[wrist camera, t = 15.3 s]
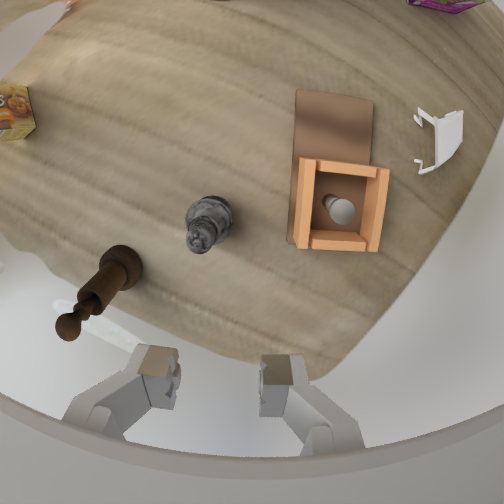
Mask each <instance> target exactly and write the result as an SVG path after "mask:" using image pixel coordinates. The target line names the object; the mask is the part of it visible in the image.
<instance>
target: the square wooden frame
mask: <svg viewBox="0 0 504 504" xmlns="http://www.w3.org/2000/svg"><path fill="white" fill-rule="evenodd" d="M315 169H317V170H319V171H324V172H334V173H343V174H351V175H359V176H367V185H366V193H365V201H364V208H363V216H362V222H361V229H360V235H358V234H357V233H356V232H342V231H326V230H310V222H311V213H312V202H313V192H314V180H315ZM389 173H390V170H389V169H385V168H381V167H377V166H370V165H363V164H356V163H349V162H341V161H332V160H323V159H311V158H302V157H300V159H299V174H298V187H297V200H296V211H295V223H294V234H293V238H294V241H295V243H296V246H297V248H300V249H308V242H309V244H310V245H311V247H312V249H322V250H344V251H365V248H366V249H367V250H368V251H369V252H377V251H378V246H379V241H380V235H381V229H382V224H383V218H384V211H385V204H386V197H387V190H388V182H389Z"/></svg>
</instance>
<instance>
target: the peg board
mask: <svg viewBox="0 0 504 504" xmlns="http://www.w3.org/2000/svg"><path fill="white" fill-rule="evenodd" d="M372 121H373V101H371V100H366V99H361V98H356V97H351V96H345V95H339V94H333V93H326V92H319V91H312V90H303V89H297V90H296V98H295V119H294V138H293V155H292V171H291V185H290V199H289V212H288V224H287V236H286V241H287V243H288V244H296V243H295V241H294V238H293V234H294V223H295V211H296V200H297V187H298V174H299V159H300V157H302V158H311V159H323V160H332V161H341V162H349V163H356V164H363V165H369V163H370V151H371V138H372ZM366 185H367V176H359V175H351V174H343V173H334V172H324V171H319V170H317V169H315V180H314V192H313V202H312V213H311V222H310V230H326V231H342V232H356V233H357V234H358V235H360V229H361V222H362V216H363V208H364V201H365V193H366ZM308 244H309V242H308ZM309 245H310V244H309Z"/></svg>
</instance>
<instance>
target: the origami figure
mask: <svg viewBox="0 0 504 504" xmlns="http://www.w3.org/2000/svg"><path fill="white" fill-rule="evenodd" d="M463 111H464V110H461V111H458V110H457V111H454V112H451V113H448V114H445V117H444V118H441V119H438V118H437V117H436V116H434V117H433V118H432V117H431V116H430V115H428V114H427V113H426V112H425V111H423V110H422V109H421V108H419V107H418V115H419V118H418V117H417V116H416V115H415V114H414V120H415V121H416V122H417V123H418V124H419V125H420V126H421V127H423V123H422V117H423V118H425V119H426V120H428V121H429V122H430V123H432V124H433V125H434V126H435V166H432V167H429V168H426V169H423V170H422V166H423V160H419V159H414V162H417V163H421V165H420V169H419V173H418V174H419V175H423V174H425V173H428V172H430V171H432V170H434V169H436V168H438V167H439V166H440V165H441V164H443V163H444V162H445V161H447V160H448V159H449V158H450V157H452V155H453V154H454V152H455V151H456V150H457V148H458V146H459V145H460V143H461V142H463V140H462V134H463Z"/></svg>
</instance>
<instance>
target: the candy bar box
mask: <svg viewBox="0 0 504 504" xmlns="http://www.w3.org/2000/svg"><path fill="white" fill-rule="evenodd" d="M406 1H407V3H408V4H412V5H418V6H423V7H428V8H433V9H437V10H442V11H446V12H449V13H453V14H457V13H460V12H462V11H464V10H467V9H469V8H472V7H474V6H476V5H479V4H482V3H484V2H487V1H490V0H406Z"/></svg>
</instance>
